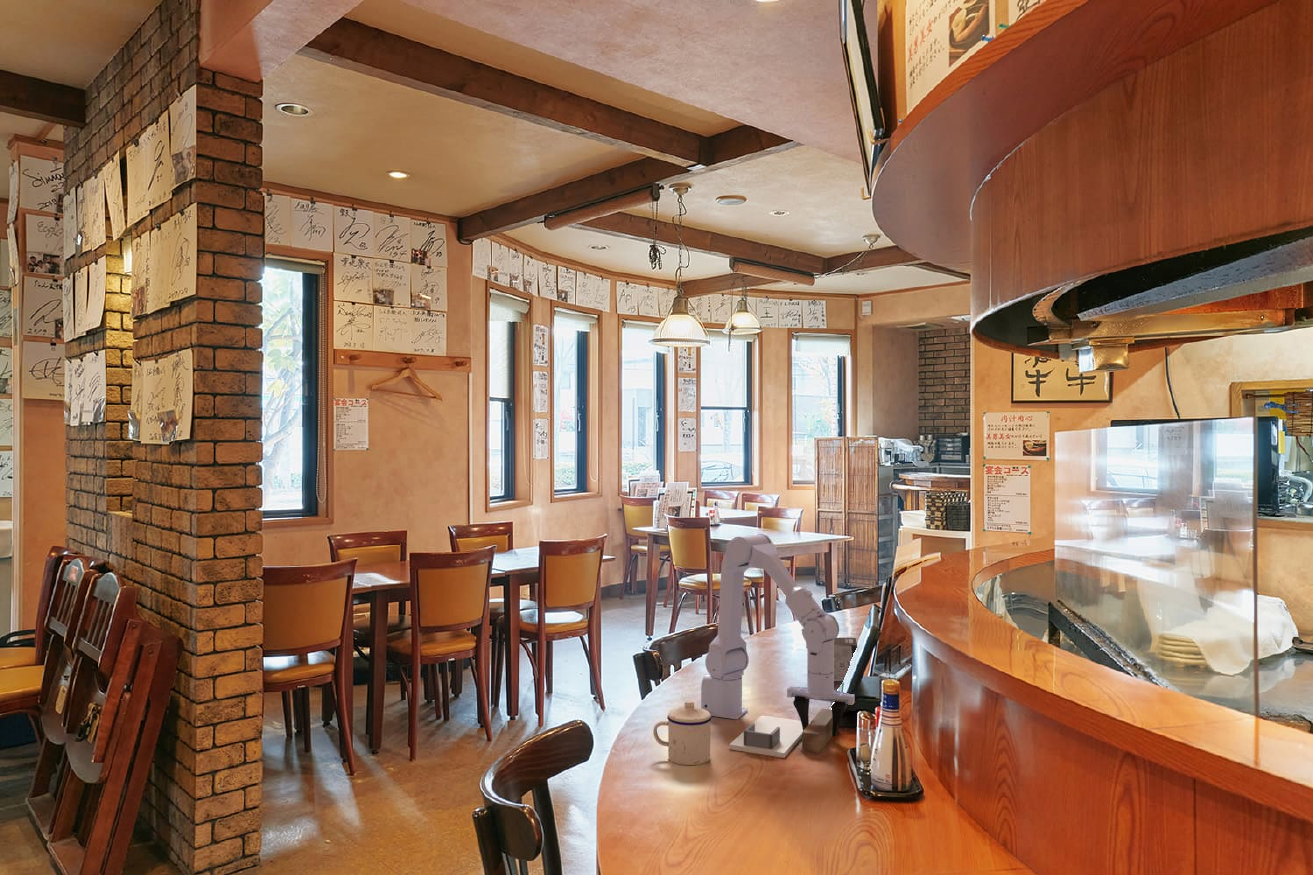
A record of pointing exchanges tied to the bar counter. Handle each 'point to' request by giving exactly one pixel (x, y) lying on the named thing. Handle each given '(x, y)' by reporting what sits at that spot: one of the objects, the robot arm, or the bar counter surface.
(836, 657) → the coffee box
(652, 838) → the bar counter surface
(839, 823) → the bar counter surface
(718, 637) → the robot arm
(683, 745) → the teacup with lid
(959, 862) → the bar counter surface
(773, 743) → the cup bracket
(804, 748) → the rail
